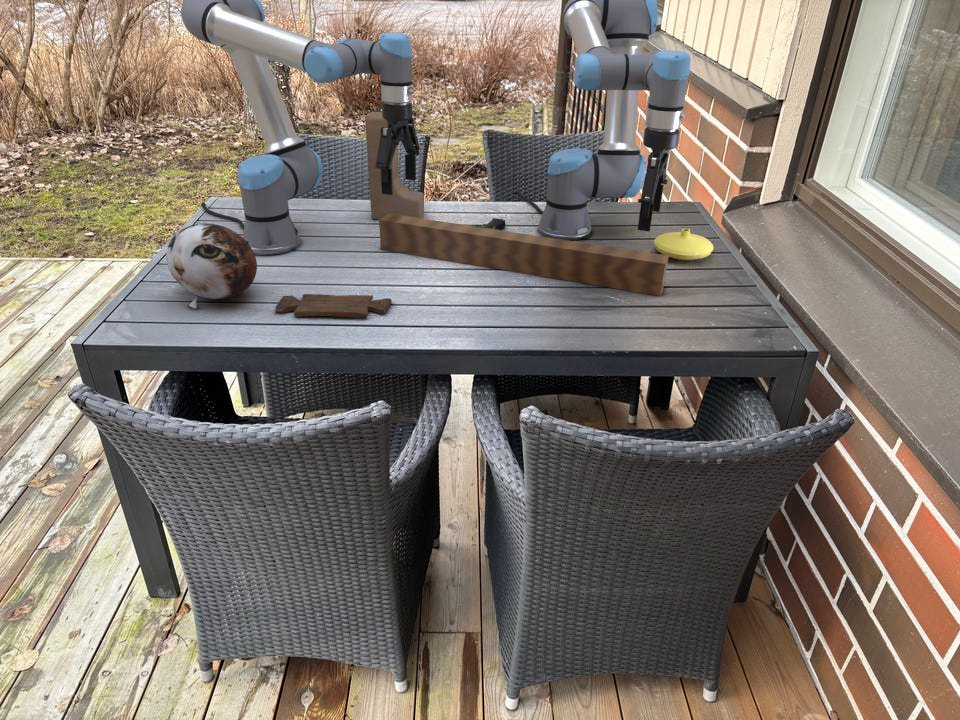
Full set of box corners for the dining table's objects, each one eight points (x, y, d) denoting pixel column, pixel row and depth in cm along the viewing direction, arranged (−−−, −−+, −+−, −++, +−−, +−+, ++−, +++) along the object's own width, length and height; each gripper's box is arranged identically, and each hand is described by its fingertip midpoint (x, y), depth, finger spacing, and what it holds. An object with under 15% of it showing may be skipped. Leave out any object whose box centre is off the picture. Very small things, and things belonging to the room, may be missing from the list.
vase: (666, 239, 204) (669, 216, 201) (720, 252, 197) (724, 228, 193) (642, 256, 193) (646, 231, 190) (698, 270, 185) (703, 245, 182)
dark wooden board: (386, 320, 160) (392, 301, 168) (386, 314, 159) (392, 294, 168) (271, 316, 160) (283, 297, 169) (270, 309, 159) (282, 290, 168)
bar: (380, 249, 196) (378, 219, 191) (390, 242, 200) (388, 213, 196) (660, 296, 173) (665, 263, 168) (663, 287, 177) (668, 255, 173)
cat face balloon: (130, 285, 161) (164, 203, 163) (192, 308, 177) (221, 233, 178) (195, 307, 151) (229, 220, 152) (254, 330, 166) (285, 250, 168)
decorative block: (419, 222, 214) (416, 119, 199) (370, 219, 216) (364, 116, 200) (424, 214, 220) (422, 113, 205) (377, 211, 222) (371, 111, 207)
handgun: (511, 219, 210) (493, 234, 198) (511, 228, 211) (492, 244, 199) (461, 212, 215) (440, 226, 203) (461, 221, 217) (440, 236, 204)
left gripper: (387, 113, 165) (390, 202, 176) (431, 94, 185) (432, 175, 196) (358, 110, 167) (363, 198, 178) (405, 91, 187) (407, 172, 198)
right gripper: (671, 144, 146) (656, 241, 157) (687, 117, 165) (672, 205, 177) (634, 140, 148) (622, 236, 159) (654, 114, 168) (642, 201, 179)
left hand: (399, 186), depth 187 cm, fingers open, 13 cm apart
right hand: (648, 220), depth 168 cm, fingers open, 13 cm apart
